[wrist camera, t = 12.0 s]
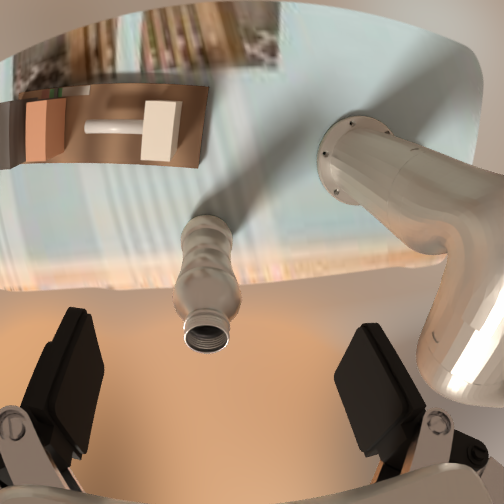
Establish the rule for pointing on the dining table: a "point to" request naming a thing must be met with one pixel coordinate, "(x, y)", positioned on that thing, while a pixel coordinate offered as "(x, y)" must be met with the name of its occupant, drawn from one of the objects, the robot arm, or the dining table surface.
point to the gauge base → (106, 107)
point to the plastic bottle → (206, 284)
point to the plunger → (147, 129)
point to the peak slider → (45, 128)
